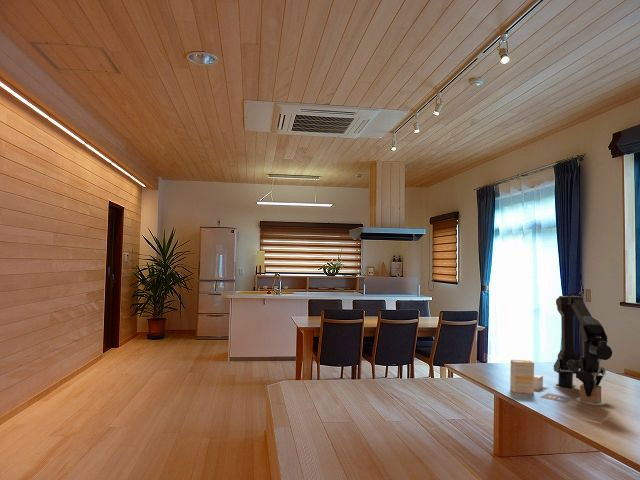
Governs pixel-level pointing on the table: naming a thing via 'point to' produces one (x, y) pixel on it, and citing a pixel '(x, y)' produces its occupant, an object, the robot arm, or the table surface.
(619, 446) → the table surface
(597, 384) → the robot arm
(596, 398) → the walnut block
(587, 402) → the pale green disc
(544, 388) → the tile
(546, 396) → the tile
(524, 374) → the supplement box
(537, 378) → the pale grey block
